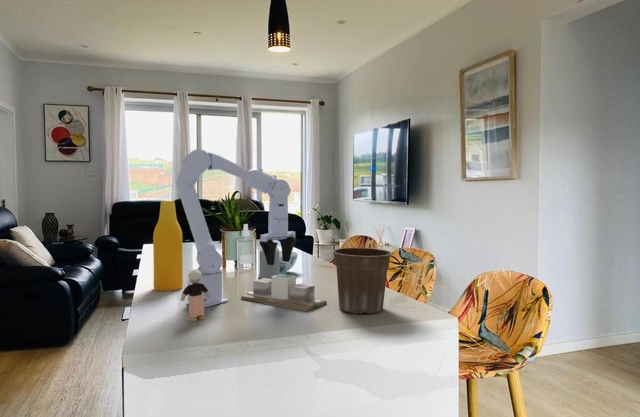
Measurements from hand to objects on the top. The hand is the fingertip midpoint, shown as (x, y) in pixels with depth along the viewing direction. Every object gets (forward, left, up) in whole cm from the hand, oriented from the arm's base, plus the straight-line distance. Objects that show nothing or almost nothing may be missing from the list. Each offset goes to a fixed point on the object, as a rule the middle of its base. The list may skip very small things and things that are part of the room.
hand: (278, 263), depth 139 cm
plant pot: (+2, -28, -11) cm, 30 cm away
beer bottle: (-12, +37, -11) cm, 40 cm away
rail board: (-4, -5, -10) cm, 12 cm away
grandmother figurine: (-31, +2, -11) cm, 33 cm away
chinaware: (+31, +25, -11) cm, 41 cm away
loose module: (-4, -5, -9) cm, 11 cm away
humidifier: (+10, +12, -11) cm, 19 cm away
